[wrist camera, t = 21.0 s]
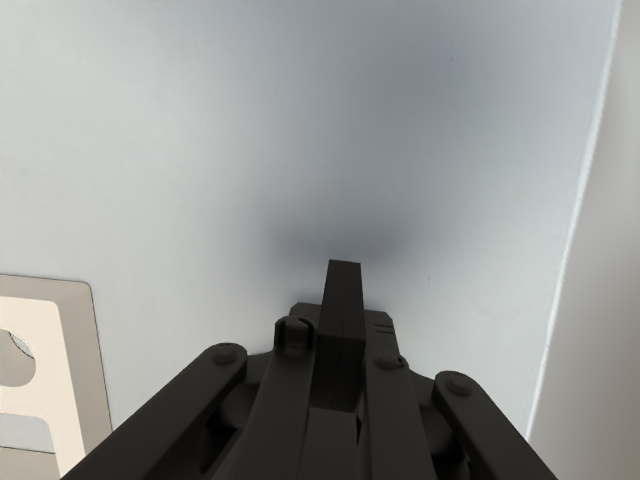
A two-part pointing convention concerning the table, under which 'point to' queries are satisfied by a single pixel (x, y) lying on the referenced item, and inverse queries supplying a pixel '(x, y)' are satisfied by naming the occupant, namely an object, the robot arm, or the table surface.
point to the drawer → (318, 447)
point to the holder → (51, 373)
